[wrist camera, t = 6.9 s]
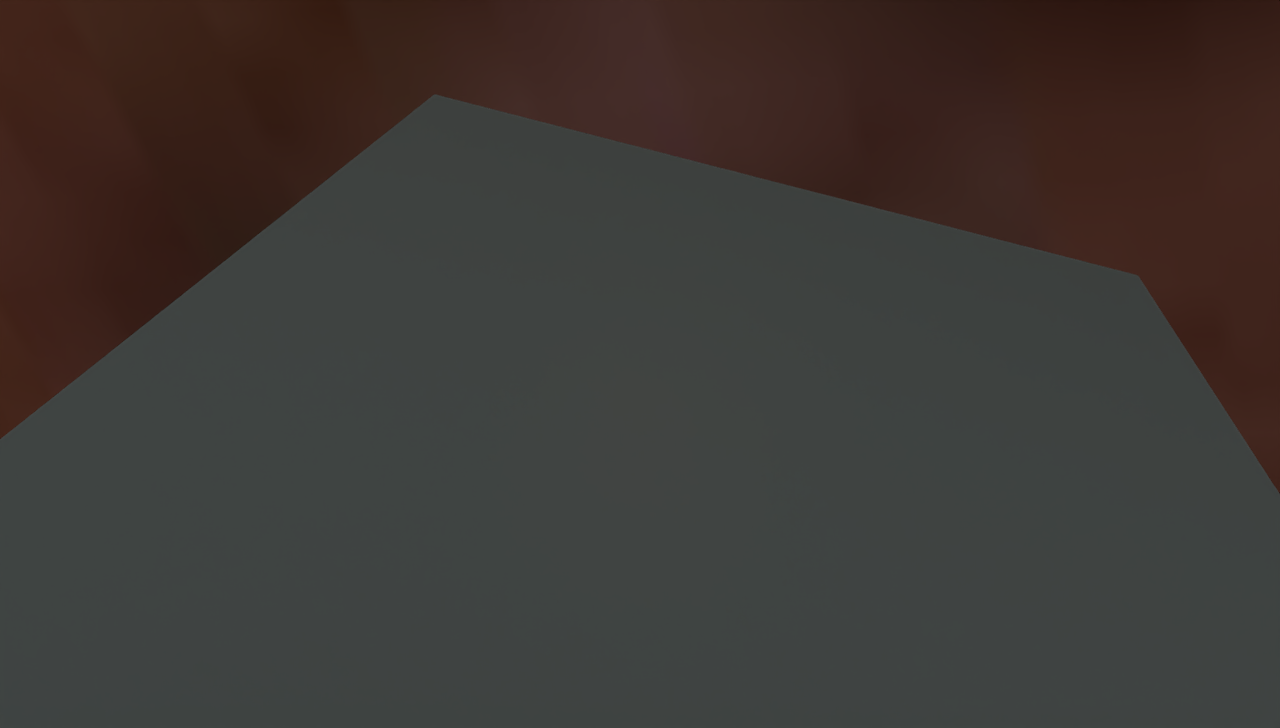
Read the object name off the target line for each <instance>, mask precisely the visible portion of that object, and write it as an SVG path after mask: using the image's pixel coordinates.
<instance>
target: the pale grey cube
mask: <svg viewBox="0 0 1280 728" xmlns="http://www.w3.org/2000/svg"><path fill="white" fill-rule="evenodd" d="M0 728H1280V494H1279V492H1278V491H1277V489H1276V488H1275V486H1274V485H1273V483H1272V482H1271V480H1270V479H1269V477H1268V476H1267V474H1266V472H1265V471H1264V469H1263V468H1262V466H1261V465H1260V463H1259V462H1258V460H1257V459H1256V457H1255V455H1254V454H1253V452H1252V451H1251V449H1250V448H1249V446H1248V445H1247V443H1246V442H1245V440H1244V438H1243V437H1242V435H1241V434H1240V432H1239V431H1238V429H1237V428H1236V426H1235V425H1234V423H1233V421H1232V420H1231V418H1230V417H1229V415H1228V414H1227V412H1226V411H1225V409H1224V408H1223V406H1222V405H1221V403H1220V401H1219V400H1218V398H1217V397H1216V395H1215V394H1214V392H1213V391H1212V389H1211V388H1210V386H1209V384H1208V383H1207V381H1206V380H1205V378H1204V377H1203V375H1202V374H1201V372H1200V371H1199V369H1198V367H1197V366H1196V364H1195V363H1194V361H1193V360H1192V358H1191V357H1190V355H1189V354H1188V352H1187V350H1186V349H1185V347H1184V346H1183V344H1182V343H1181V341H1180V340H1179V338H1178V337H1177V335H1176V334H1175V332H1174V330H1173V329H1172V327H1171V326H1170V324H1169V323H1168V321H1167V320H1166V318H1165V317H1164V315H1163V313H1162V312H1161V310H1160V309H1159V307H1158V306H1157V304H1156V303H1155V301H1154V300H1153V298H1152V296H1151V295H1150V293H1149V292H1148V290H1147V289H1146V287H1145V286H1144V284H1143V283H1142V281H1141V279H1140V278H1139V276H1138V275H1134V274H1130V273H1126V272H1123V271H1119V270H1115V269H1111V268H1107V267H1103V266H1099V265H1095V264H1091V263H1088V262H1084V261H1080V260H1076V259H1072V258H1068V257H1064V256H1060V255H1057V254H1053V253H1049V252H1045V251H1041V250H1037V249H1033V248H1029V247H1025V246H1022V245H1018V244H1014V243H1010V242H1006V241H1002V240H998V239H994V238H991V237H987V236H983V235H979V234H975V233H971V232H967V231H963V230H959V229H956V228H952V227H948V226H944V225H940V224H936V223H932V222H928V221H924V220H921V219H917V218H913V217H909V216H905V215H901V214H897V213H893V212H890V211H886V210H882V209H878V208H874V207H870V206H866V205H862V204H858V203H855V202H851V201H847V200H843V199H839V198H835V197H831V196H827V195H823V194H820V193H816V192H812V191H808V190H804V189H800V188H796V187H792V186H789V185H785V184H781V183H777V182H773V181H769V180H765V179H761V178H757V177H754V176H750V175H746V174H742V173H738V172H734V171H730V170H726V169H722V168H719V167H715V166H711V165H707V164H703V163H699V162H695V161H691V160H688V159H684V158H680V157H676V156H672V155H668V154H664V153H660V152H656V151H653V150H649V149H645V148H641V147H637V146H633V145H629V144H625V143H621V142H618V141H614V140H610V139H606V138H602V137H598V136H594V135H590V134H587V133H583V132H579V131H575V130H571V129H567V128H563V127H559V126H555V125H552V124H548V123H544V122H540V121H536V120H532V119H528V118H524V117H520V116H517V115H513V114H509V113H505V112H501V111H497V110H493V109H489V108H486V107H482V106H478V105H474V104H470V103H466V102H462V101H458V100H454V99H451V98H447V97H443V96H439V95H435V94H434V95H433V96H432V97H431V98H429V99H428V100H427V101H426V102H424V103H423V104H422V105H421V106H419V107H418V108H417V109H416V110H414V111H413V112H412V113H410V114H409V115H408V116H407V117H405V118H404V119H403V120H402V121H400V122H399V123H398V124H397V125H395V126H394V127H393V128H392V129H390V130H389V131H388V132H387V133H385V134H384V135H383V136H382V137H380V138H379V139H378V140H377V141H375V142H374V143H373V144H371V145H370V146H369V147H368V148H366V149H365V150H364V151H363V152H361V153H360V154H359V155H358V156H356V157H355V158H354V159H353V160H351V161H350V162H349V163H348V164H346V165H345V166H344V167H343V168H341V169H340V170H339V171H337V172H336V173H335V174H334V175H332V176H331V177H330V178H329V179H327V180H326V181H325V182H324V183H322V184H321V185H320V186H319V187H317V188H316V189H315V190H314V191H312V192H311V193H310V194H309V195H307V196H306V197H305V198H304V199H302V200H301V201H300V202H298V203H297V204H296V205H295V206H293V207H292V208H291V209H290V210H288V211H287V212H286V213H285V214H283V215H282V216H281V217H280V218H278V219H277V220H276V221H275V222H273V223H272V224H271V225H270V226H268V227H267V228H266V229H264V230H263V231H262V232H261V233H259V234H258V235H257V236H256V237H254V238H253V239H252V240H251V241H249V242H248V243H247V244H246V245H244V246H243V247H242V248H241V249H239V250H238V251H237V252H236V253H234V254H233V255H232V256H231V257H229V258H228V259H227V260H225V261H224V262H223V263H222V264H220V265H219V266H218V267H217V268H215V269H214V270H213V271H212V272H210V273H209V274H208V275H207V276H205V277H204V278H203V279H202V280H200V281H199V282H198V283H197V284H195V285H194V286H193V287H191V288H190V289H189V290H188V291H186V292H185V293H184V294H183V295H181V296H180V297H179V298H178V299H176V300H175V301H174V302H173V303H171V304H170V305H169V306H168V307H166V308H165V309H164V310H163V311H161V312H160V313H159V314H158V315H156V316H155V317H154V318H152V319H151V320H150V321H149V322H147V323H146V324H145V325H144V326H142V327H141V328H140V329H139V330H137V331H136V332H135V333H134V334H132V335H131V336H130V337H129V338H127V339H126V340H125V341H124V342H122V343H121V344H120V345H118V346H117V347H116V348H115V349H113V350H112V351H111V352H110V353H108V354H107V355H106V356H105V357H103V358H102V359H101V360H100V361H98V362H97V363H96V364H95V365H93V366H92V367H91V368H90V369H88V370H87V371H86V372H85V373H83V374H82V375H81V376H79V377H78V378H77V379H76V380H74V381H73V382H72V383H71V384H69V385H68V386H67V387H66V388H64V389H63V390H62V391H61V392H59V393H58V394H57V395H56V396H54V397H53V398H52V399H51V400H49V401H48V402H47V403H45V404H44V405H43V406H42V407H40V408H39V409H38V410H37V411H35V412H34V413H33V414H32V415H30V416H29V417H28V418H27V419H25V420H24V421H23V422H22V423H20V424H19V425H18V426H17V427H15V428H14V429H13V430H11V431H10V432H9V433H8V434H6V435H5V436H4V437H3V438H1V439H0Z"/></svg>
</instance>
